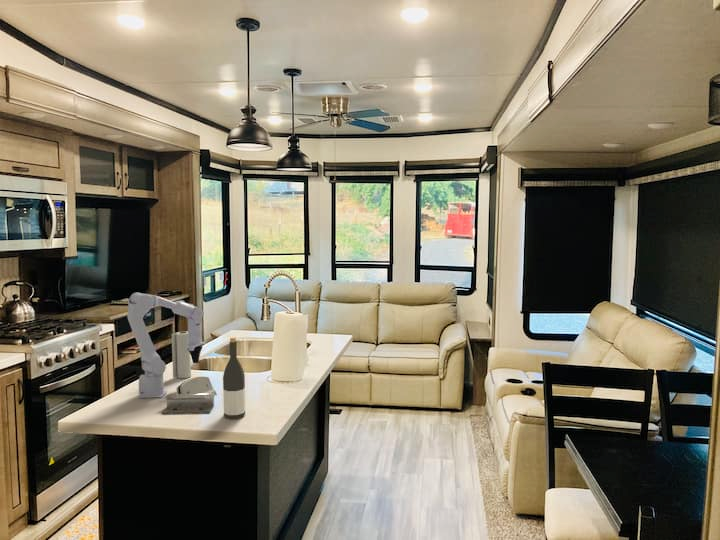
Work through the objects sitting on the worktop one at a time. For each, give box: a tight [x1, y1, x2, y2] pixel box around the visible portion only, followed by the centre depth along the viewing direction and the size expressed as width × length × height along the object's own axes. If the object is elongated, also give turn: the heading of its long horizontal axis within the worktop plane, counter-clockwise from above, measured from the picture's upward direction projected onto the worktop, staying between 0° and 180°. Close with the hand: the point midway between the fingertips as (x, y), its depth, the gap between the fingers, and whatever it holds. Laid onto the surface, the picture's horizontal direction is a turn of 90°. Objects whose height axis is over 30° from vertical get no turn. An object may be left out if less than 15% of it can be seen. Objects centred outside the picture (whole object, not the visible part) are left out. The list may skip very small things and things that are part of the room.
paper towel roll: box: [171, 330, 192, 379], centre depth 257 cm, size 7×6×21 cm
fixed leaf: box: [161, 393, 215, 415], centre depth 214 cm, size 18×8×5 cm, turn 93°
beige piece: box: [176, 376, 218, 397], centre depth 227 cm, size 17×5×10 cm, turn 150°
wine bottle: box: [222, 336, 246, 420], centre depth 207 cm, size 8×8×30 cm
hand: (195, 362), depth 246 cm, fingers closed
